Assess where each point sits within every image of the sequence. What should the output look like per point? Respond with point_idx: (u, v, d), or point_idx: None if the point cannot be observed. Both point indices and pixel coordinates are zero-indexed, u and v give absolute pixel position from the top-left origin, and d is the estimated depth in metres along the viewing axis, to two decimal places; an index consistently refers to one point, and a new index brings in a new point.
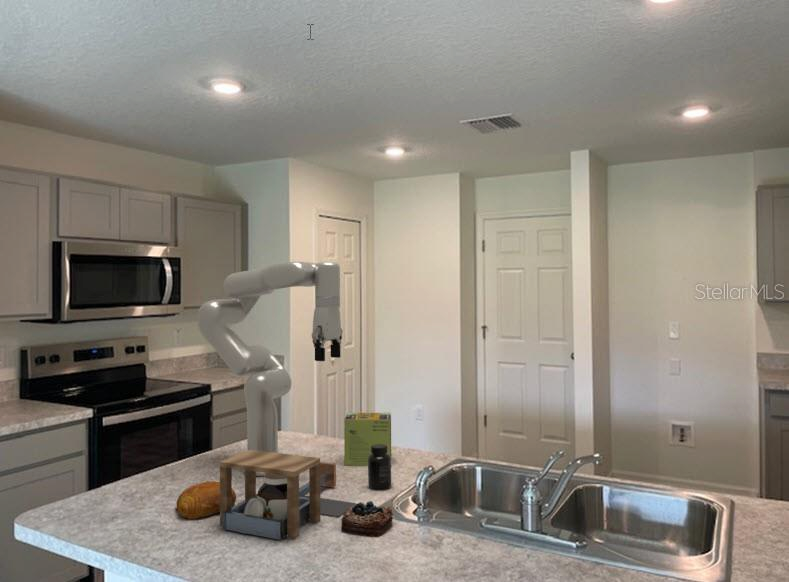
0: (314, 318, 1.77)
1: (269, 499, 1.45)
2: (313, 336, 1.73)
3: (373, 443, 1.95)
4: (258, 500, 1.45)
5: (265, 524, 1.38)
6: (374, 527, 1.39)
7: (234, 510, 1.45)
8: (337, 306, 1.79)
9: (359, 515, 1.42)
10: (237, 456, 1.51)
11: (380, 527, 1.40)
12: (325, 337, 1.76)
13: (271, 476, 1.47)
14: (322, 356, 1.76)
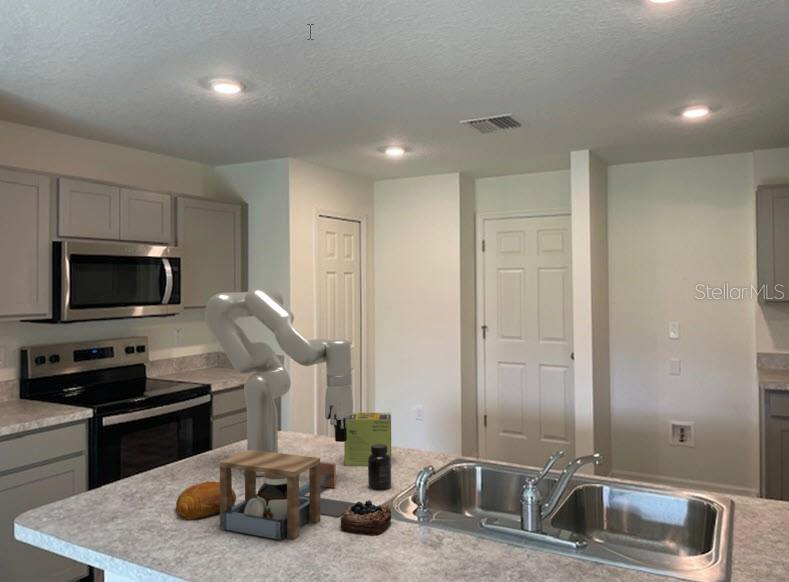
0: (326, 398, 1.77)
1: (269, 499, 1.45)
2: (332, 424, 1.76)
3: (373, 443, 1.95)
4: (258, 500, 1.45)
5: (265, 524, 1.38)
6: (373, 525, 1.40)
7: (234, 510, 1.45)
8: (349, 384, 1.78)
9: (358, 514, 1.43)
10: (237, 456, 1.51)
11: (380, 526, 1.41)
12: (338, 417, 1.75)
13: (271, 476, 1.47)
14: (342, 437, 1.79)
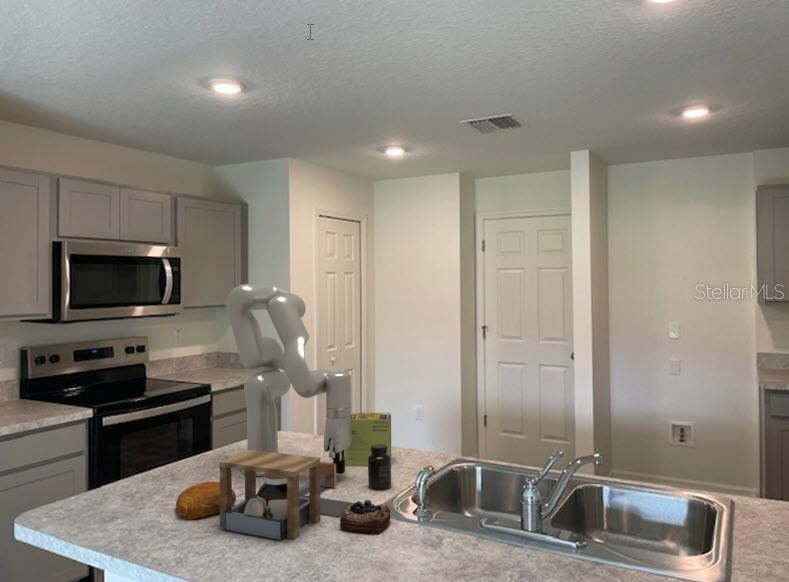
0: (325, 430, 1.77)
1: (269, 499, 1.45)
2: None
3: (373, 443, 1.95)
4: (258, 500, 1.45)
5: (265, 524, 1.38)
6: (373, 525, 1.40)
7: (234, 510, 1.45)
8: (348, 417, 1.79)
9: (358, 514, 1.43)
10: (237, 456, 1.51)
11: (379, 525, 1.41)
12: (336, 450, 1.76)
13: (271, 476, 1.47)
14: (340, 469, 1.79)
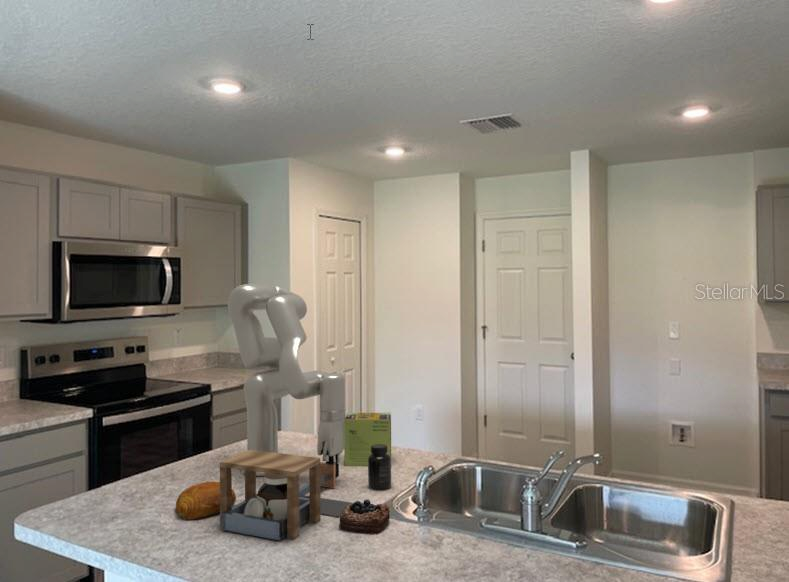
0: (319, 433, 1.73)
1: (269, 499, 1.45)
2: None
3: (373, 443, 1.95)
4: (258, 500, 1.45)
5: (264, 525, 1.38)
6: (373, 524, 1.41)
7: (233, 510, 1.45)
8: (342, 420, 1.75)
9: (358, 513, 1.44)
10: (237, 456, 1.51)
11: (379, 524, 1.42)
12: (330, 453, 1.72)
13: (271, 476, 1.47)
14: None
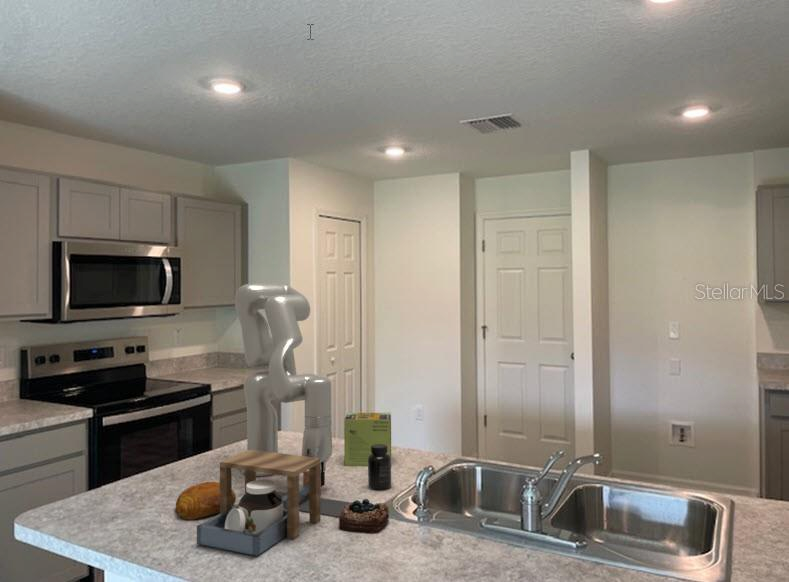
0: (303, 440, 1.65)
1: (251, 510, 1.38)
2: None
3: (373, 443, 1.95)
4: (240, 511, 1.38)
5: (241, 539, 1.30)
6: (373, 523, 1.41)
7: (210, 523, 1.37)
8: (328, 426, 1.67)
9: (357, 513, 1.44)
10: (237, 456, 1.51)
11: (379, 524, 1.42)
12: None
13: (253, 485, 1.40)
14: None
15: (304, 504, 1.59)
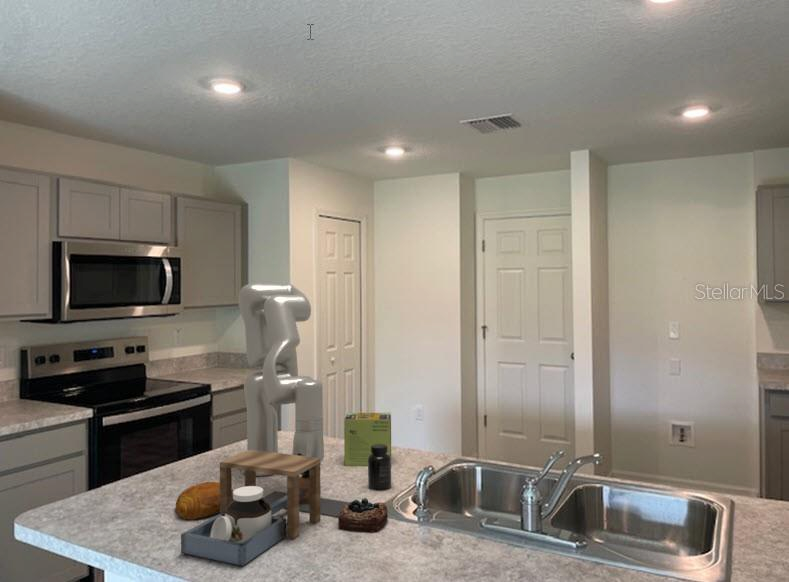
0: (294, 444, 1.61)
1: (238, 518, 1.33)
2: (300, 474, 1.60)
3: (373, 443, 1.95)
4: (226, 519, 1.33)
5: (227, 548, 1.25)
6: (372, 523, 1.42)
7: (195, 532, 1.32)
8: (319, 430, 1.62)
9: (357, 512, 1.44)
10: (237, 456, 1.51)
11: (378, 523, 1.43)
12: None
13: (240, 492, 1.36)
14: None
15: (304, 504, 1.59)
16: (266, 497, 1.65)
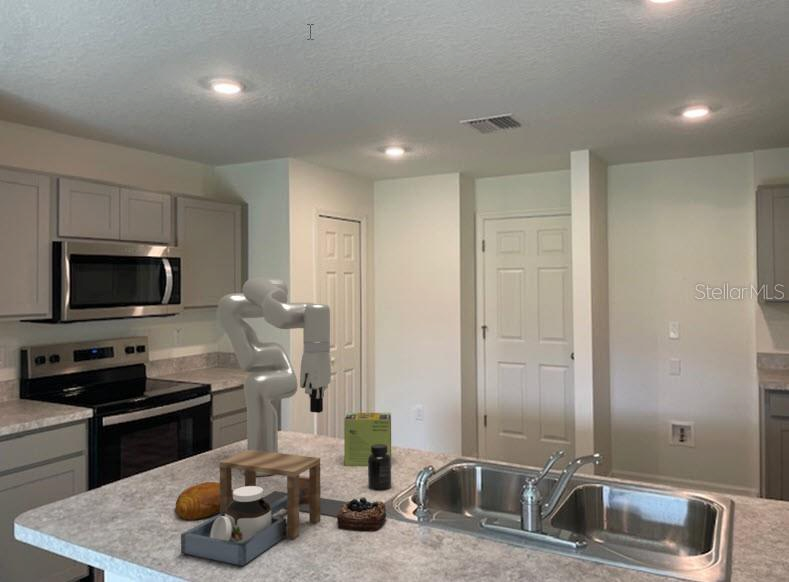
0: (302, 365, 1.65)
1: (238, 518, 1.33)
2: (307, 393, 1.65)
3: (373, 443, 1.95)
4: (226, 519, 1.33)
5: (227, 548, 1.25)
6: (372, 521, 1.42)
7: (195, 532, 1.32)
8: (327, 352, 1.67)
9: (356, 511, 1.45)
10: (237, 456, 1.51)
11: (378, 521, 1.43)
12: (313, 386, 1.64)
13: (240, 492, 1.36)
14: (318, 407, 1.68)
15: (304, 504, 1.59)
16: (266, 497, 1.65)
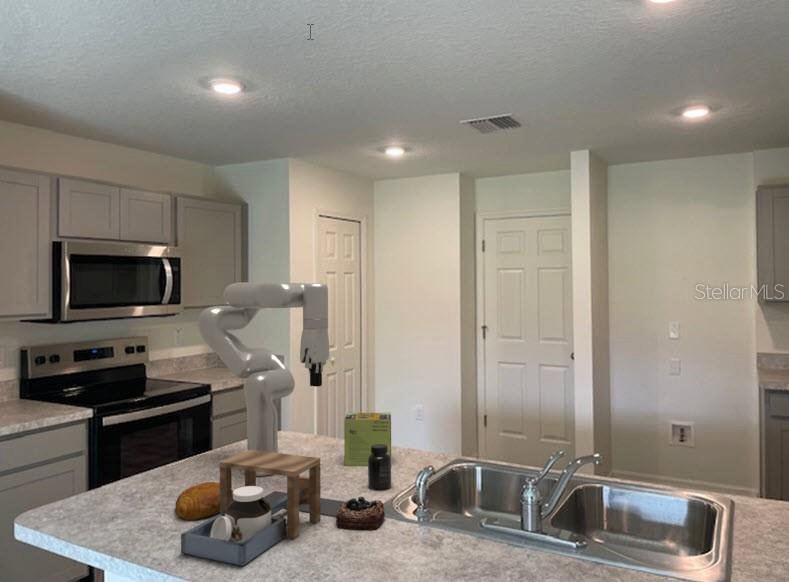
0: (302, 340, 1.74)
1: (238, 518, 1.33)
2: (307, 367, 1.73)
3: (373, 443, 1.95)
4: (226, 519, 1.33)
5: (227, 548, 1.25)
6: (371, 520, 1.43)
7: (195, 532, 1.32)
8: (325, 328, 1.76)
9: (355, 510, 1.45)
10: (237, 456, 1.51)
11: (377, 520, 1.44)
12: (313, 360, 1.73)
13: (240, 492, 1.36)
14: (317, 381, 1.77)
15: (304, 504, 1.59)
16: (266, 497, 1.65)
